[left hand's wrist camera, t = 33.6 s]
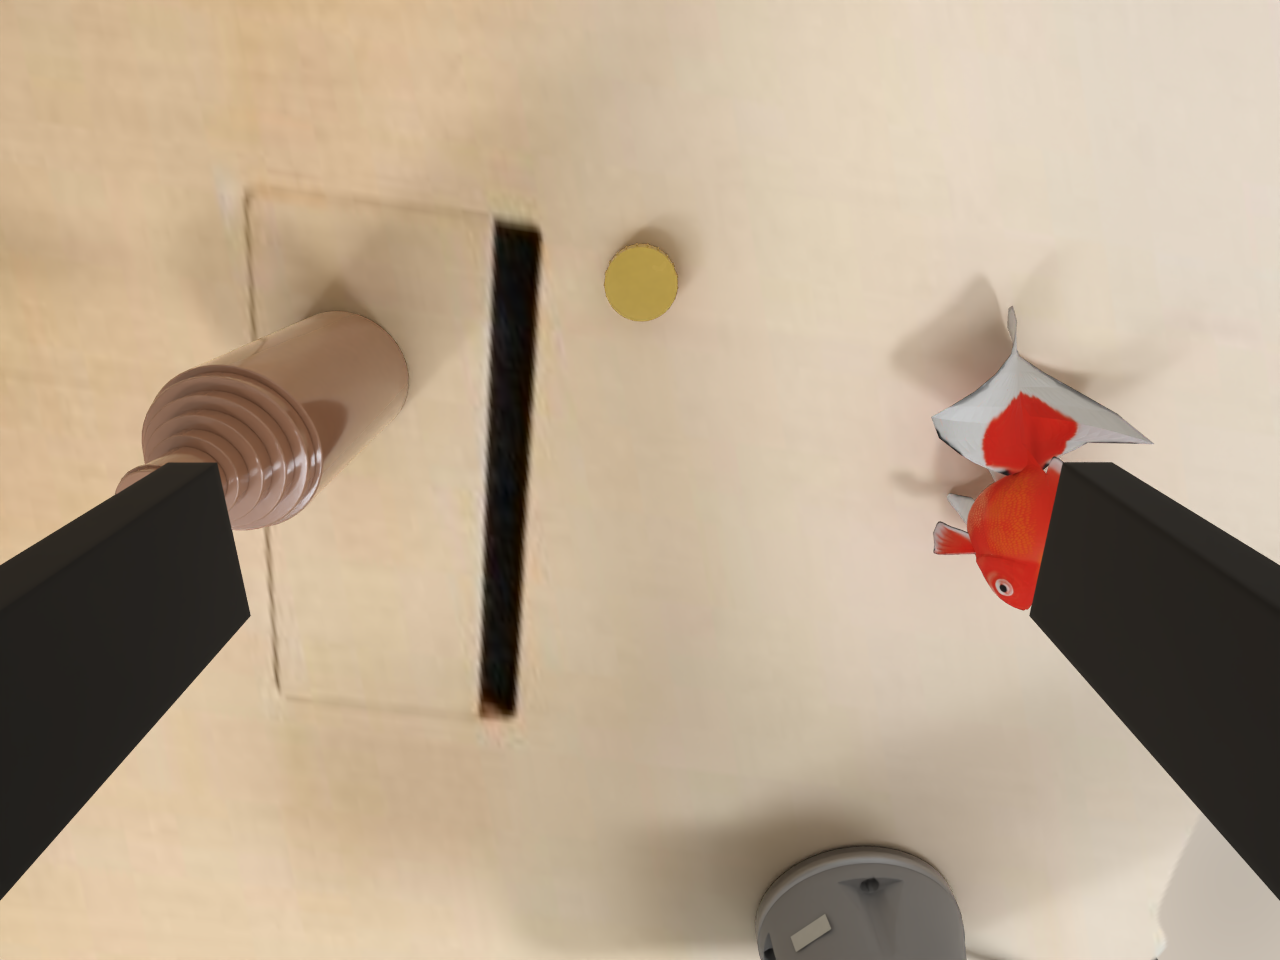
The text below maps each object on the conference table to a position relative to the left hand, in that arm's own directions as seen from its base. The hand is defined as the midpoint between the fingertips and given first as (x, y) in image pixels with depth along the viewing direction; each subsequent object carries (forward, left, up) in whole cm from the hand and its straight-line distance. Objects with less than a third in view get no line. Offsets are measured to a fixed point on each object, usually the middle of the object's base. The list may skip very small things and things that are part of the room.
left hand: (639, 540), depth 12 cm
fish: (-20, -7, -31) cm, 38 cm away
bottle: (+9, +15, -31) cm, 36 cm away
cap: (0, 0, -30) cm, 30 cm away
